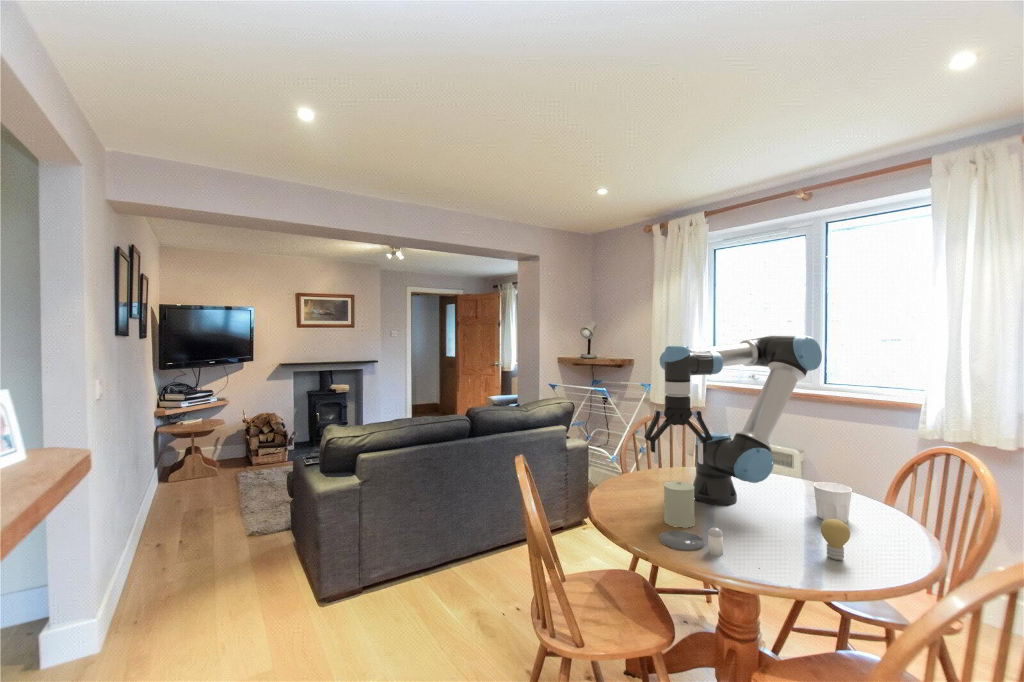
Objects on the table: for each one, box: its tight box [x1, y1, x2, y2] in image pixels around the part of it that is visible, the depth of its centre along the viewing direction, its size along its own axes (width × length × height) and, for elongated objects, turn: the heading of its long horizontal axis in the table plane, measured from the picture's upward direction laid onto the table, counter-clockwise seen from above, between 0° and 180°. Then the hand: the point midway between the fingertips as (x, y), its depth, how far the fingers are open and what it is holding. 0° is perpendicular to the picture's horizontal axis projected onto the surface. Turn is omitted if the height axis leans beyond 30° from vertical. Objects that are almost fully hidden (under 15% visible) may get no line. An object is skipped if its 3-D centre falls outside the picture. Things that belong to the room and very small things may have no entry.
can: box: [663, 480, 696, 529], centre depth 149 cm, size 9×9×12 cm
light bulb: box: [819, 519, 851, 561], centre depth 124 cm, size 6×6×10 cm
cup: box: [813, 481, 853, 524], centre depth 150 cm, size 10×10×10 cm
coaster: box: [659, 530, 705, 552], centre depth 135 cm, size 12×12×1 cm
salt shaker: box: [707, 527, 724, 557], centre depth 127 cm, size 4×4×7 cm
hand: (678, 462), depth 149 cm, fingers open, 13 cm apart
